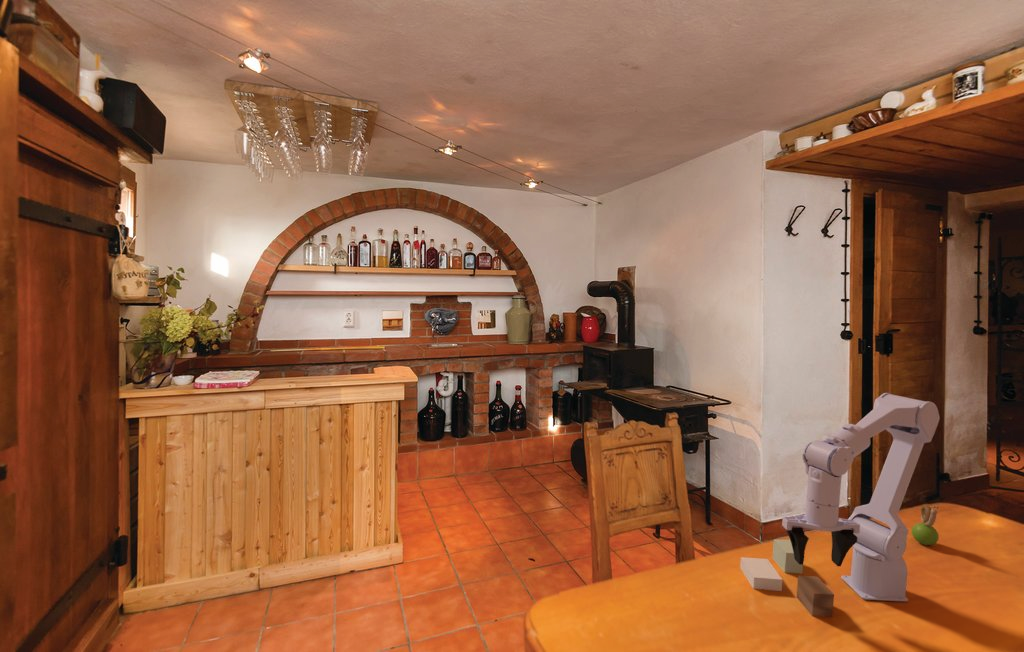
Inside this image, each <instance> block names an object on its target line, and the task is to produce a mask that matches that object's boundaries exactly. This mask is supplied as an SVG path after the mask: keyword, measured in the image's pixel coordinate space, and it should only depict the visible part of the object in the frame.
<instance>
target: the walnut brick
mask: <svg viewBox="0 0 1024 652" xmlns="http://www.w3.org/2000/svg"><path fill="white" fill-rule="evenodd" d="M796 598H797V600H798V601H799V602H800V603H801V604H802V606H803V607H804V608H805V609H806V611H807V612H808V613H809V614H810V615H811V617H819V618H820V617H821V618H833V612H834V604H835V603H834V601H835V594H834V593H833V591H831V589H829V587H828V586H827V585H826V584H825V583H824V582H823V581H822V580H821V579H820V578H819V577H818V576H812V575H797V587H796Z"/></svg>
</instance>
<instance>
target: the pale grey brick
mask: <svg viewBox="0 0 1024 652" xmlns="http://www.w3.org/2000/svg"><path fill="white" fill-rule="evenodd" d="M739 567H740V570H741V571H742V573H743V574H744V576H745V577H746V579H747V581H748V582H749V584H750V586H751V587H752V589H754V590H762V589H764V591H765V590H766V591H775V592H777V591H778V592H782V591H783V590H782V589H783V578H782V577H781V575H780V574H779V573H778V571H777V570H776V569H775V568H774V566H773V565H772V563H771V562H770V561H769V559H768V558H757V557H744V556H743V557H742V556H740V566H739Z"/></svg>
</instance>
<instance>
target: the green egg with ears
mask: <svg viewBox="0 0 1024 652" xmlns="http://www.w3.org/2000/svg"><path fill="white" fill-rule="evenodd" d="M935 508H936V509H935ZM938 509H939V506H938V505H936V506H935V505H932V508H931V507H930V506H929V505H928V504H923V505H922V506H921V507H920V520H921V522H918V523H916V524H914V525H913V526H912V528H911V534H912V537H913V538H914V540H915V541H916V542H918V543H919V544H922V545H925V546H932V545H935V544H936V543H938V541H939V539H940V538H939V537H940V536H939V532H938V531H937V529H936V528H935V527H934V524H935V522H936V519H937V514H938Z"/></svg>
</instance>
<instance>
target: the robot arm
mask: <svg viewBox="0 0 1024 652" xmlns="http://www.w3.org/2000/svg"><path fill="white" fill-rule="evenodd" d="M940 419H941V417H940V413H939V410H938V406H937V405H936V404H935V402H932V401H928V400H926V401H925V400H921V399H915V398H910V397H907V396H901V395H896V394H892V393H890V392H884V393H882V394H880V396H878V397H877V398H875V400H874V403H873V408H872V410H870V412H868V413H867V414H866V415H865V416H864V417H863V418H862V419H861V420H859V421H858V422H857V423H856V424H854V423H845V424H843V425H842V427H840V428H839V429H837V430H836V431H834V432H833V433H831V434H830V435H828V436H827V437H826V438H824V439H822V440H819V439H818V440H817V439H816V440H813V441H811V442H808V444H807V445H806V446H805V448H804V451H803V453H802V460H803V463H804V465H805V474H807V484H806V486H807V487H806V498H805V500H806V501H805V509H804V510H805V512H804V514H799V515H792V516H782V523H781V526H782V527H783V528H784V529H785V531H786V533H787V535H788V538H789V540H790V541H791V544H792V547H793V552H794V559H795V560H796V561H797V562H798V564H801V565H803V566H804V561H805V551H806V548H807V544H808V541H809V539H810V538H809V537H808V536H807V535H806V534H805V531H804V530H809V531H810V530H811V531H812V530H813V531H815V530H816V531H821V532H831V555H830V558H831V562H832V563H833V564H835V565H836V566H837V567H841V566H842V564H843V562H844V560H845V558H846V556H847V555H848V553H849V550H850V549H852V557H851V559H852V560H851V568H850V569H851V570H850V575H841V577H840V578H841V579H842V581H844V582H845V583H846V584H847V585H848V586H849V587H850V588H851V589H852V590H853V591H854V592H855V593H856V595H858V596H859V597H860V598H862V600H868V601H869V600H870V601H871V600H872V601H891V602H908V601H909V599H908V598H907V597H906V595H907V594H906V593H907V592H906V591H907V582H908V573H909V572H908V566H907V563H906V561H905V559H904V558H903V555H904V554H905V552H906V549H907V544H908V543H907V539H908V534H909V531H910V530H909V529H908V527H907V526H906V524H905V523H904V521H902V519H901V518H900V516H899V515H898V514H899V511H900V509H901V507H902V503H903V501H904V499H905V496H906V494H907V491H908V487H909V485H910V483H911V479H912V476H913V474H914V472H915V469H916V466H917V463H918V461H919V458H920V456H921V453H922V450H923V448H924V445H925V444H926V443H932V440H933V437H934V435H935V433H936V430H937V427H938V425H939V422H940ZM883 431H886V432H888V433H889V434H891V436H892V444H891V446H890V448H889V451H888V454H887V457H886V459H885V462H884V464H883V467H882V470H881V472H880V475H879V477H878V479H877V483H876V486H875V488H874V490H873V493H872V496H871V498H870V501H869V503H867V504H862V505H858V506H855V508H854V510H853V511H852V514H851V515H850V516H849V518H841V517H839V510H840V498H841V487H842V476H843V475H845V474H846V473H847V472H848V471H849V468H850V467H851V464H852V463H853V462H854V458H855V457H857V456H858V455H860V454H861V453H863V452H864V451H865V450H866V449H868V448H869V447H870V446H871V438H872V437H874V436H876V435H878V434H880V433H881V432H883ZM872 519H874V520H872ZM875 520H877V521H879V522H881V523H884V525H883V524H881V523H879V522H877V521H875ZM885 524H886V525H887V526H886V525H885ZM852 547H853V548H852Z"/></svg>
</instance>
